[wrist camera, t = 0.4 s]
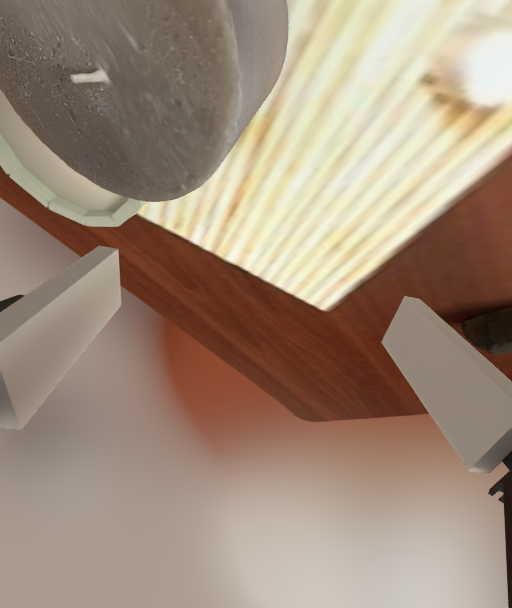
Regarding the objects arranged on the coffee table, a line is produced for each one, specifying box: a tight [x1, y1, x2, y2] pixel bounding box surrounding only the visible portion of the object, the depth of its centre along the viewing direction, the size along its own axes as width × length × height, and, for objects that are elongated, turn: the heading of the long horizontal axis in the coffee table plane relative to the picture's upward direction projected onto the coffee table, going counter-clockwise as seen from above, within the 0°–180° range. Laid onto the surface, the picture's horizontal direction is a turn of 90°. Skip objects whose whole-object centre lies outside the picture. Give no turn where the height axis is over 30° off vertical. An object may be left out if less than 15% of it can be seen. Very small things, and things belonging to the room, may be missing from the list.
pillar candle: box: [0, 0, 288, 202], centre depth 14 cm, size 10×10×15 cm
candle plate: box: [0, 90, 146, 227], centre depth 26 cm, size 16×16×2 cm
